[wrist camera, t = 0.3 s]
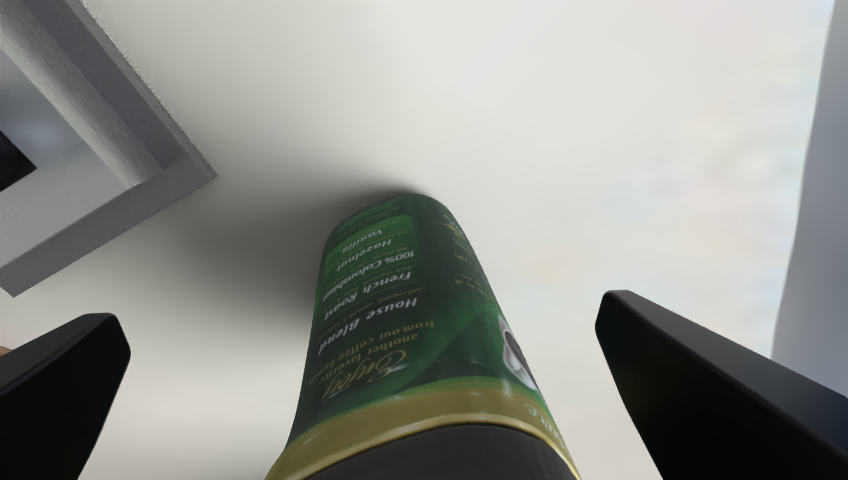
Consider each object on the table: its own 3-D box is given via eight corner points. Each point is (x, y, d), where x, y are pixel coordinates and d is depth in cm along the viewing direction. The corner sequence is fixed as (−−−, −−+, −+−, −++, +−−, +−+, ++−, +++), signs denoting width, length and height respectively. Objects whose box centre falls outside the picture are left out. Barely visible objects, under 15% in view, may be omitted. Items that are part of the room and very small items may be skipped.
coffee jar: (300, 235, 22) (40, 818, 5) (434, 168, 21) (648, 591, 4) (385, 361, 26) (396, 930, 9) (501, 308, 25) (750, 818, 8)
